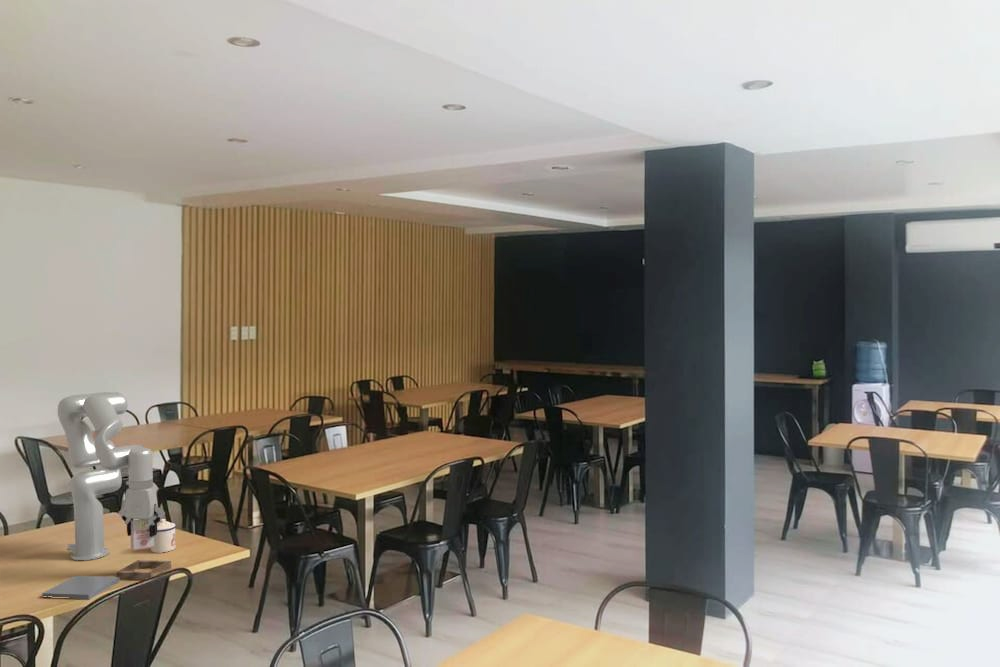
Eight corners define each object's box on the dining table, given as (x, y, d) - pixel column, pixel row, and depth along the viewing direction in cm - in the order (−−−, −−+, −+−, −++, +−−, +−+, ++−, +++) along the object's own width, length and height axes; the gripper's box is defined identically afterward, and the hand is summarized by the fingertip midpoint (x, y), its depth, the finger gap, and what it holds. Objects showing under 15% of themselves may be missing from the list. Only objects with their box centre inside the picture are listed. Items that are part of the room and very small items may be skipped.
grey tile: (42, 597, 250) (42, 593, 250) (75, 580, 266) (75, 575, 265) (88, 599, 248) (88, 594, 248) (119, 581, 264) (119, 577, 263)
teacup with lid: (177, 551, 296) (176, 520, 295) (151, 555, 291) (150, 523, 291) (174, 542, 306) (173, 513, 306) (149, 546, 302) (148, 516, 302)
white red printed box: (130, 547, 271) (130, 519, 270) (152, 544, 274) (151, 516, 274) (132, 550, 268) (131, 522, 267) (154, 547, 271) (153, 518, 271)
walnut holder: (116, 579, 266) (116, 572, 265) (138, 567, 278) (137, 560, 278) (151, 580, 264) (150, 573, 264) (171, 567, 276) (171, 560, 276)
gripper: (110, 486, 267) (112, 537, 268) (158, 488, 265) (159, 539, 266) (124, 481, 275) (125, 530, 276) (170, 482, 272) (171, 532, 273)
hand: (142, 534), depth 271 cm, fingers closed on white red printed box, 7 cm apart
